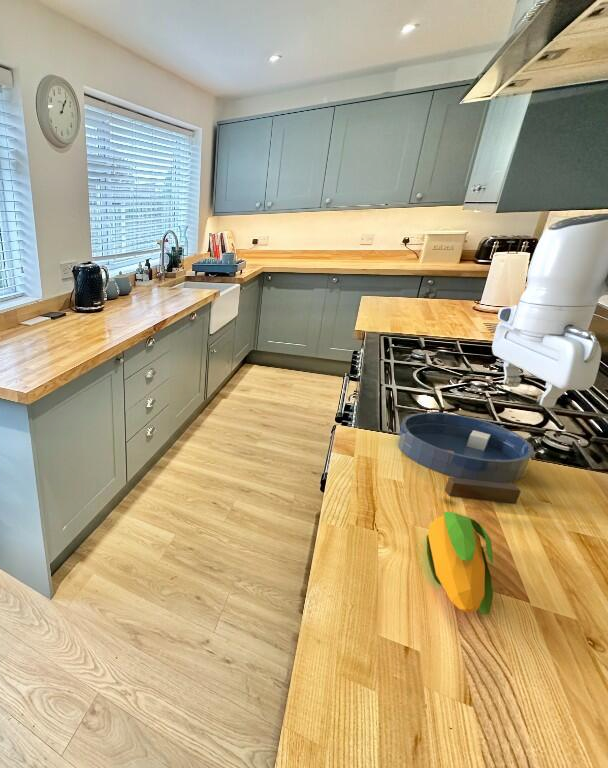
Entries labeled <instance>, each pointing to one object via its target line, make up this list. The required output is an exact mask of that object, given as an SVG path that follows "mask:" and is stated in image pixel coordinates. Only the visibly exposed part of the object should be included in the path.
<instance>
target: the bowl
mask: <svg viewBox="0 0 608 768" xmlns="http://www.w3.org/2000/svg"><path fill="white" fill-rule="evenodd" d="M473 430H475V431H479V432H483V433H486V434H490V435H491V436H490V439H489V441H488V444H487V447H486V449H485V450H484V451H481V450H478V449H474V448H471V447H467V443H468V440H469V437H470V434H471V433H472V431H473ZM396 442H397V447H398V448H399V450H400V451H401V452H402V453H403V454H404V455H405V456H406V457H408V458H409V459H411V460H413V461H414V462H415V463H417V464H419V465H421V466H423V467H425V468H428V469H429V470H432V471H435V472H437V473H440V474H442V475H446V476H449V477H452V478H461V479H470V480H479V481H488V482H497V483H507V484H509V483H513V482H517V481H519V480H522V479H523V478H524V477H525V475H526V474H527V471H528V469H529V466H530V463H531V461H532V458H533V457H534V451H535V450H534V446H533V445H532V444H531V443H530V442H529V441H528V440H527V439H526V438H524V437H523V436H521V435H520V434H517V432H514V431H513V430H510V429H509V428H505V427H503V426H500V425H498V424H496V423H493V422H489V421H486V420H482V419H479V418H476V417H472V416H471V417H470V416H466V415H462V414H461V415H460V414H454V413H448V412H419V413H414V414H410V415H407V416H406V417H405V418H403V419H402V421H401V424H400V429H399V432H398V436H397V440H396ZM446 450H448V451H446ZM449 451H454V453H453V452H449Z"/></svg>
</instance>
